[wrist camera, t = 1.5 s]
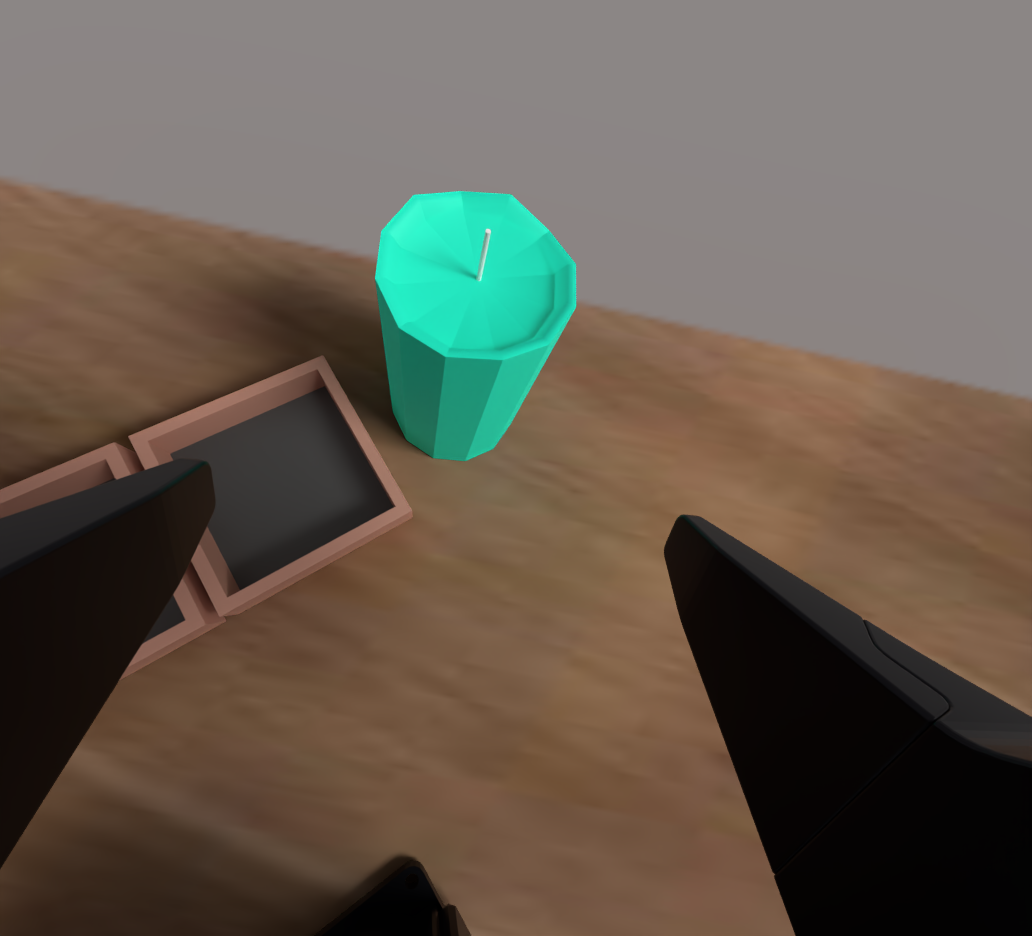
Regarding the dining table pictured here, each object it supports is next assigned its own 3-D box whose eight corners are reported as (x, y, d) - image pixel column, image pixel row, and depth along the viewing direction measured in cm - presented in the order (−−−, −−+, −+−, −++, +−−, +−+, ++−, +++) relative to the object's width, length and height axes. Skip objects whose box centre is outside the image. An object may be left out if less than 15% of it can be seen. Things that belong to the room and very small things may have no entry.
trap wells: (0, 746, 17) (-51, 766, 15) (-83, 553, 18) (-142, 548, 16) (412, 517, 22) (412, 510, 20) (330, 374, 23) (322, 354, 21)
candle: (523, 451, 24) (621, 323, 12) (402, 471, 22) (388, 346, 11) (499, 344, 25) (568, 138, 14) (383, 355, 24) (352, 136, 12)
